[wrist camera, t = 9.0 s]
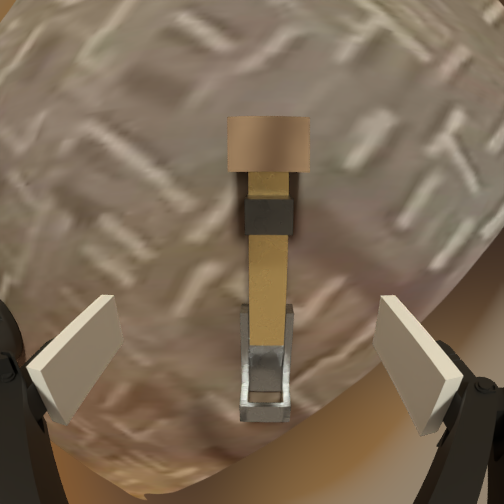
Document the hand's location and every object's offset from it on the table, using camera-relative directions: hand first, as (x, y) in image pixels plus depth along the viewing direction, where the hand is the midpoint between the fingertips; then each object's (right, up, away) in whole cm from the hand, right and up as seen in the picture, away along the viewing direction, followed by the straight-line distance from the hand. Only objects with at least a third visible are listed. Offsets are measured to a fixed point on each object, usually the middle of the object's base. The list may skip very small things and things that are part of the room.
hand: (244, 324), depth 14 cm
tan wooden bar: (+2, +5, +21) cm, 22 cm away
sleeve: (+2, -10, +26) cm, 28 cm away
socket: (+2, +15, +19) cm, 25 cm away
